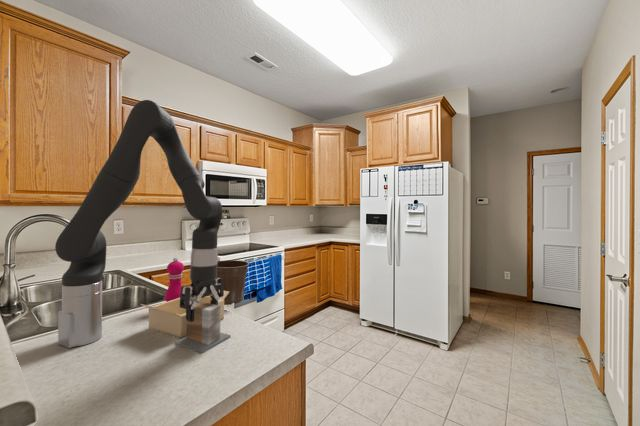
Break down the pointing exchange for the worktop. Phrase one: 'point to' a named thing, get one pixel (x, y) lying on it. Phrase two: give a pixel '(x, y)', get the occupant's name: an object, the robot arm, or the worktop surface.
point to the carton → (175, 316)
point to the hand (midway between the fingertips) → (202, 316)
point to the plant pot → (233, 279)
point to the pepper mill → (174, 280)
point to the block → (204, 323)
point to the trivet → (200, 346)
